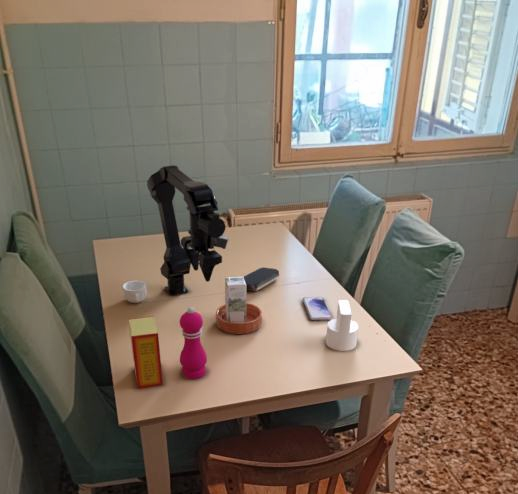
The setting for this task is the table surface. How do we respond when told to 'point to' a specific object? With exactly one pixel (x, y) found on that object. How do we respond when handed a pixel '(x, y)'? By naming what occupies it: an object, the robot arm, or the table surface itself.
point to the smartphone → (317, 308)
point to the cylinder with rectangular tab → (342, 329)
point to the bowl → (240, 328)
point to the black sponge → (260, 278)
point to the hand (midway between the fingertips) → (201, 275)
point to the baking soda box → (146, 351)
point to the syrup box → (235, 299)
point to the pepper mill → (192, 345)
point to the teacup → (135, 291)
